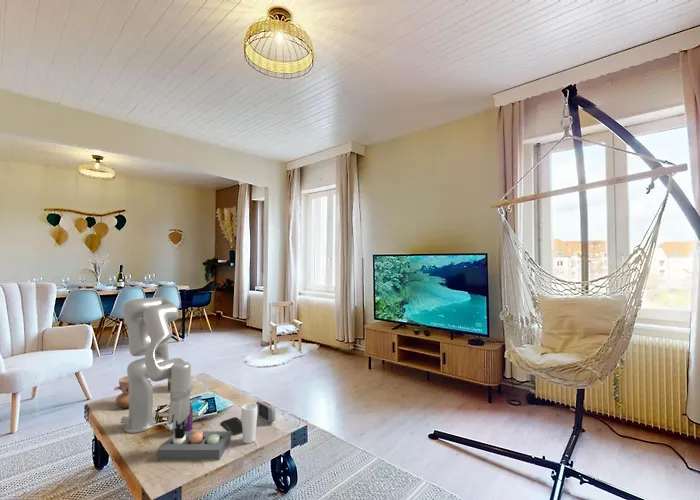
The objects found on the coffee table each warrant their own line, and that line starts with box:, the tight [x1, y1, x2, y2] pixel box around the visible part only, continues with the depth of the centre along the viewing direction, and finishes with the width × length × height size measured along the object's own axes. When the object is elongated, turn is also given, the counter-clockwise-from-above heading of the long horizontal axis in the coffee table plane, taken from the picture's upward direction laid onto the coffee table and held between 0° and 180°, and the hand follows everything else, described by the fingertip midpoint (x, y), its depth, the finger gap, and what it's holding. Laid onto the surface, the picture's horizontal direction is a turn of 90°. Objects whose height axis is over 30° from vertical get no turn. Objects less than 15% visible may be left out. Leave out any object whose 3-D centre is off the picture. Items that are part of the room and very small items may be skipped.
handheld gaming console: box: [255, 400, 276, 423], centre depth 169 cm, size 14×3×8 cm, turn 49°
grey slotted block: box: [157, 430, 232, 461], centre depth 142 cm, size 24×14×4 cm, turn 91°
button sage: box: [207, 434, 220, 444], centre depth 142 cm, size 5×5×4 cm
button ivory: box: [173, 435, 186, 444], centre depth 142 cm, size 5×5×4 cm
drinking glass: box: [240, 402, 258, 444], centre depth 150 cm, size 7×7×15 cm
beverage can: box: [184, 402, 194, 431], centre depth 157 cm, size 7×7×12 cm
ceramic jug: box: [113, 375, 152, 408], centre depth 184 cm, size 18×14×14 cm
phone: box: [220, 416, 243, 436], centre depth 161 cm, size 8×1×15 cm
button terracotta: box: [190, 430, 203, 444], centre depth 142 cm, size 5×5×4 cm
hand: (179, 437), depth 142 cm, fingers closed
